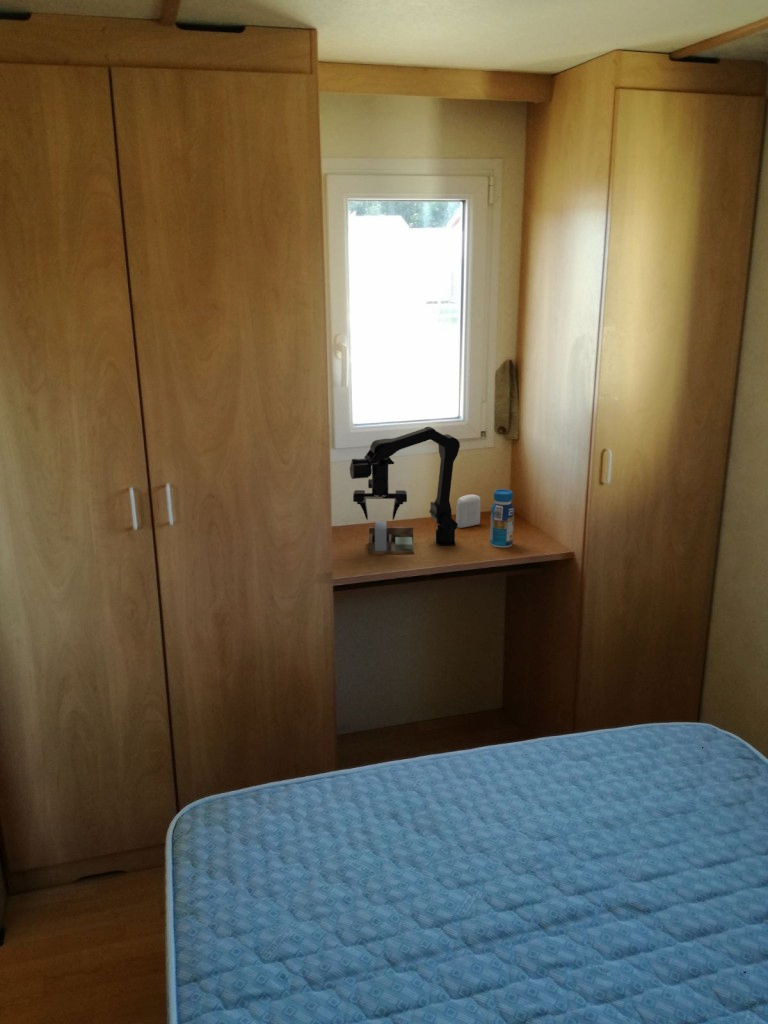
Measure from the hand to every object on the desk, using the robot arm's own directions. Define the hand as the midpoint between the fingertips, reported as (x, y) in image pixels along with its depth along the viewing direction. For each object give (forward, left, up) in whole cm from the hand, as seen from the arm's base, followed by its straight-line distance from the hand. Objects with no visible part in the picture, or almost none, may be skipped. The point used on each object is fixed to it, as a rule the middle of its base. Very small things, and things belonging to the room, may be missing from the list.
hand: (380, 519), depth 278 cm
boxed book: (0, 0, -10) cm, 10 cm away
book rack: (-4, -1, -11) cm, 12 cm away
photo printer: (-34, -27, -11) cm, 45 cm away
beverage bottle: (-44, -5, -11) cm, 46 cm away
